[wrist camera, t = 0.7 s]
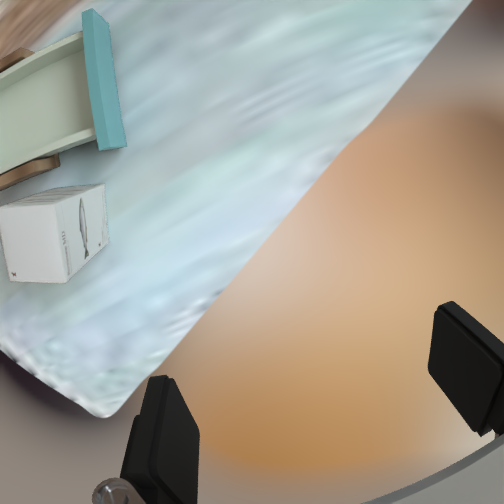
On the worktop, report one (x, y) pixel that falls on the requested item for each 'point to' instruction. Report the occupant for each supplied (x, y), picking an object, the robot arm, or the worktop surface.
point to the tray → (61, 98)
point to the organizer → (33, 166)
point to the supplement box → (53, 233)
